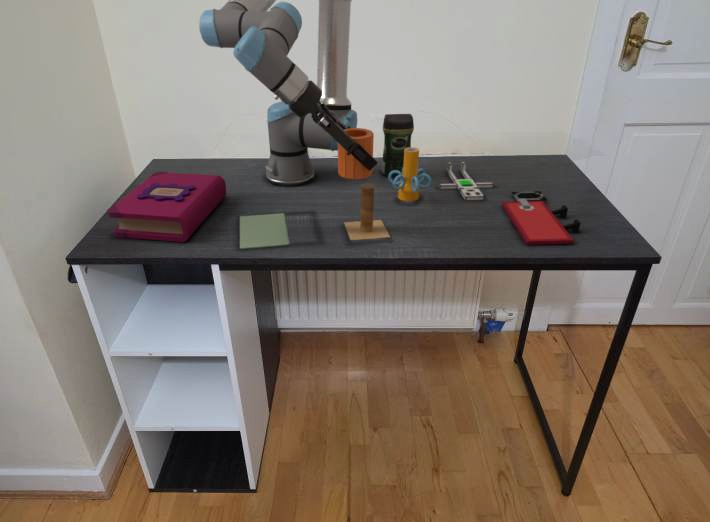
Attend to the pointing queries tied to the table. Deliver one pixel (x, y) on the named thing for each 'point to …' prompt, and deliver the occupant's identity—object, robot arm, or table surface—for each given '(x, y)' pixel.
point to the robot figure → (465, 184)
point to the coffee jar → (396, 141)
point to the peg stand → (366, 218)
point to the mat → (263, 231)
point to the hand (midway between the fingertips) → (369, 159)
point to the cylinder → (409, 176)
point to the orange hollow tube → (350, 164)
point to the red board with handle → (538, 219)
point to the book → (167, 206)
